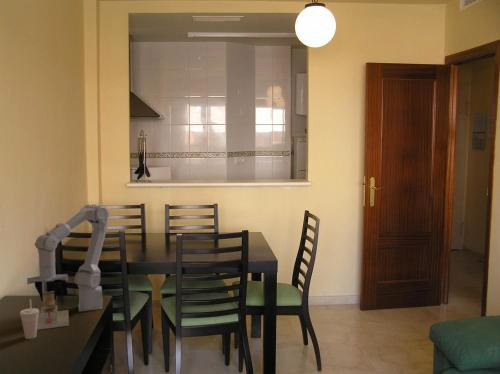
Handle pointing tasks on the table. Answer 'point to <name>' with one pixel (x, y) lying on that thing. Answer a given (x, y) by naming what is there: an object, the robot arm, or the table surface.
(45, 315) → the jack base
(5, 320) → the table surface
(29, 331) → the smoothie
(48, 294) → the post
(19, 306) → the table surface
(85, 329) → the table surface
